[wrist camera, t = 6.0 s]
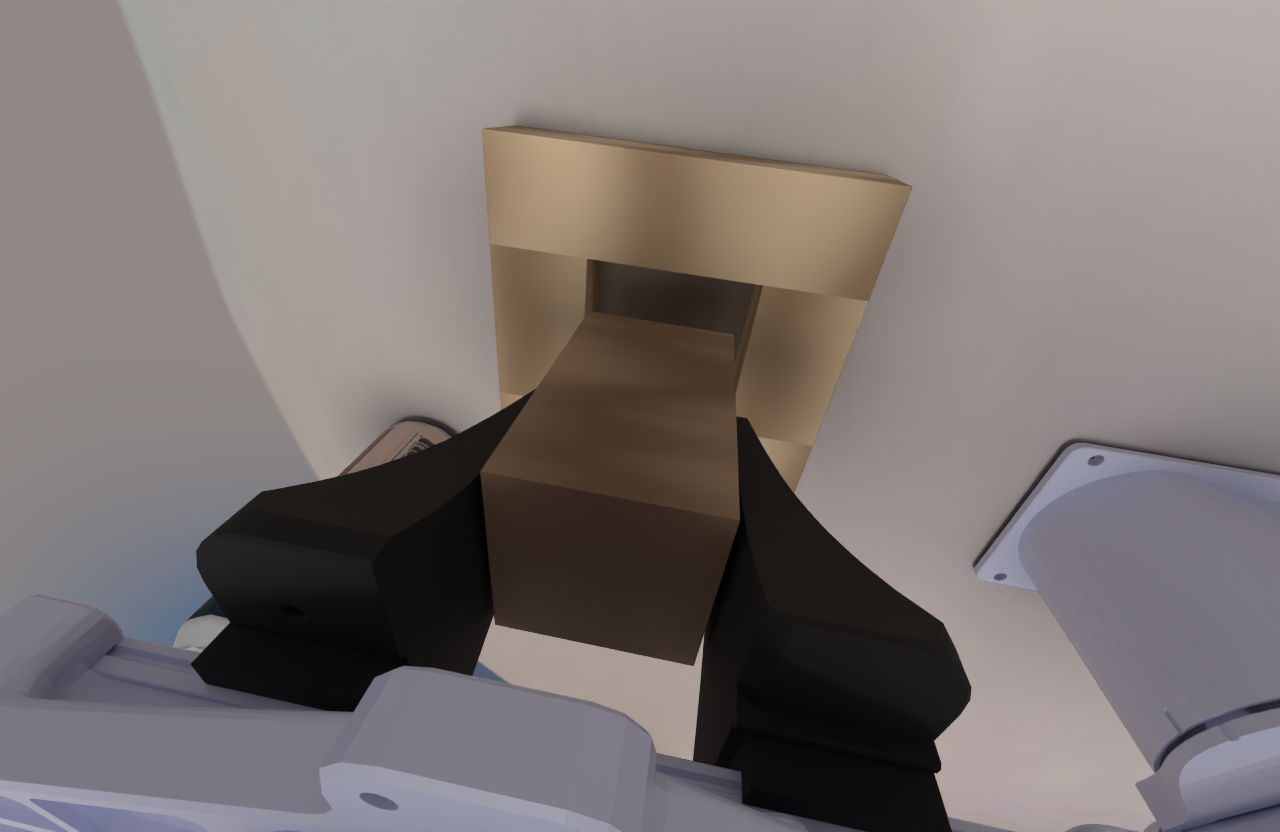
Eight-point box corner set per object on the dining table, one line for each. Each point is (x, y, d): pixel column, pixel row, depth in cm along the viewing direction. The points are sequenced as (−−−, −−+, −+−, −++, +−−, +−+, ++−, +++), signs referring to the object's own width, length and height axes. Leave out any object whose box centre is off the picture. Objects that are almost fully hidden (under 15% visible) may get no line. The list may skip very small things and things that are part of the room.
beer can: (370, 418, 24) (112, 645, 14) (456, 411, 23) (244, 652, 13) (411, 491, 26) (217, 729, 16) (489, 489, 25) (334, 741, 15)
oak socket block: (886, 175, 15) (912, 186, 13) (782, 469, 22) (788, 508, 19) (514, 125, 16) (482, 128, 14) (525, 423, 22) (504, 456, 20)
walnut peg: (733, 334, 13) (739, 520, 7) (706, 451, 15) (693, 666, 9) (588, 310, 13) (480, 471, 7) (582, 429, 15) (495, 624, 10)
